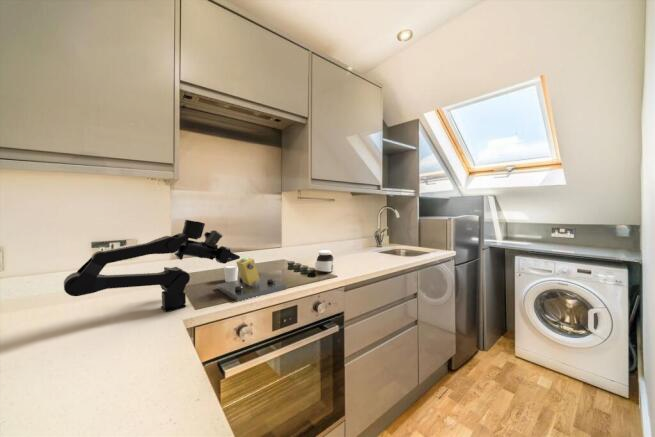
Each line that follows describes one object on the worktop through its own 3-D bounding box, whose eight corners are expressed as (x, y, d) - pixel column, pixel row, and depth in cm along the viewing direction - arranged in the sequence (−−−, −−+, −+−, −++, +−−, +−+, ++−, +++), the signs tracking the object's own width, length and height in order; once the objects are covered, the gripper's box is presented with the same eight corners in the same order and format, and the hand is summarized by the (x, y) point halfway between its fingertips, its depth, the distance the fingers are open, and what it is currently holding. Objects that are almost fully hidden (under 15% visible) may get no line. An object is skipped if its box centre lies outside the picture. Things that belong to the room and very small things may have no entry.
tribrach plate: (237, 301, 96) (237, 289, 96) (217, 288, 112) (216, 278, 112) (286, 289, 111) (286, 278, 111) (262, 279, 127) (261, 270, 127)
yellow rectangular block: (251, 287, 107) (243, 262, 104) (242, 283, 114) (234, 259, 111) (261, 282, 110) (254, 257, 107) (252, 277, 117) (245, 255, 114)
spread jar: (326, 275, 134) (326, 253, 133) (309, 272, 139) (308, 251, 139) (337, 270, 144) (337, 250, 144) (320, 268, 150) (320, 248, 149)
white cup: (233, 282, 122) (233, 268, 121) (221, 282, 123) (220, 267, 123) (241, 278, 128) (240, 265, 128) (229, 278, 130) (228, 264, 130)
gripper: (213, 230, 92) (250, 239, 103) (194, 227, 105) (229, 236, 116) (204, 260, 90) (243, 266, 101) (186, 254, 103) (222, 260, 114)
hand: (234, 256), depth 108 cm, fingers open, 9 cm apart
